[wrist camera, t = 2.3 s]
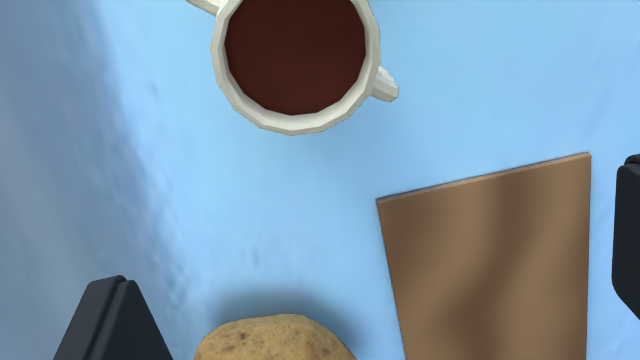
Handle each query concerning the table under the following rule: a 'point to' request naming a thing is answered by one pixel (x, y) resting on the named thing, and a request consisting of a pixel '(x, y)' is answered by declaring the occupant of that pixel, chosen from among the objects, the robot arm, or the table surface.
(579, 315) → the placemat
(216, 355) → the potato
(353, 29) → the character mug
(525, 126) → the table surface
